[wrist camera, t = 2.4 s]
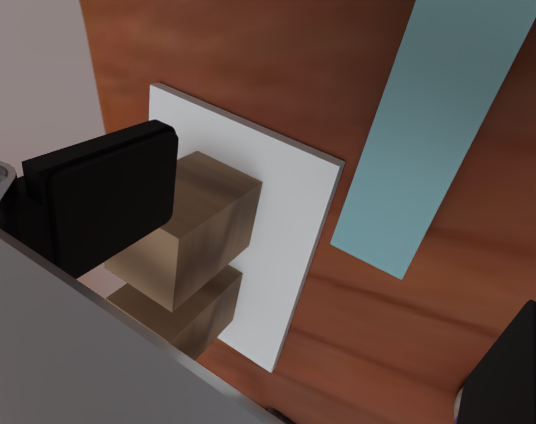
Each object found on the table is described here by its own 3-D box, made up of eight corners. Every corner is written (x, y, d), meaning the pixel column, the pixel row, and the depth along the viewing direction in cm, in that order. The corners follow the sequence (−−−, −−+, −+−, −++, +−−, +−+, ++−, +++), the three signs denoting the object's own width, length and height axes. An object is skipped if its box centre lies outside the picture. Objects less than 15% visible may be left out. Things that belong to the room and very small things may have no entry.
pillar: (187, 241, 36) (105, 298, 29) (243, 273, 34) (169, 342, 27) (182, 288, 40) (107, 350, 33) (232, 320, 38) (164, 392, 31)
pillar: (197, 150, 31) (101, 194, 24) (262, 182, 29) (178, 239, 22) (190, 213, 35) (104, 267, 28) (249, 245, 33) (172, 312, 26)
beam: (465, -72, 19) (447, -89, 15) (569, -53, 17) (578, -67, 14) (358, 209, 28) (330, 244, 24) (421, 238, 26) (401, 279, 22)
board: (159, 82, 32) (150, 84, 31) (345, 161, 26) (339, 166, 26) (150, 283, 44) (143, 288, 43) (276, 365, 39) (271, 373, 38)
